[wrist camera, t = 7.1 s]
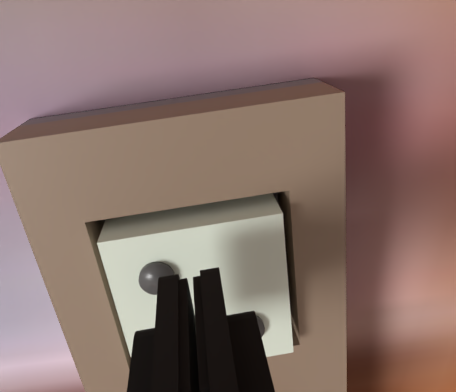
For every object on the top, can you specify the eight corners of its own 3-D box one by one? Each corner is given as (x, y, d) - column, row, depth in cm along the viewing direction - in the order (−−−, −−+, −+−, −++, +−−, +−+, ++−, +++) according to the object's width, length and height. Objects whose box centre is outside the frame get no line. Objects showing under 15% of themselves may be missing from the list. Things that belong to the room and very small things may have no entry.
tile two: (109, 208, 14) (95, 246, 12) (267, 183, 14) (284, 216, 12) (143, 331, 17) (136, 384, 14) (279, 308, 17) (294, 356, 14)
